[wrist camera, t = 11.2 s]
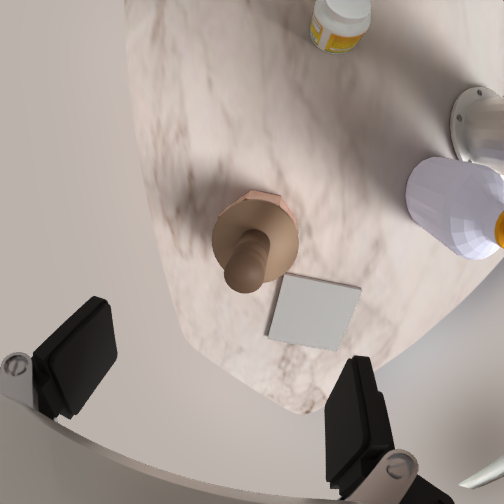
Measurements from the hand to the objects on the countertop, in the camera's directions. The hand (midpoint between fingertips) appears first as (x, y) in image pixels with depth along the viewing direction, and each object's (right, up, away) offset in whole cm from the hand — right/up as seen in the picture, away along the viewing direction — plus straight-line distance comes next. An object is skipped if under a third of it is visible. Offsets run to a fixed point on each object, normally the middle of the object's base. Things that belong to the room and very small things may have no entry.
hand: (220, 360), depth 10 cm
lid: (+2, +5, +19) cm, 20 cm away
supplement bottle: (+10, +28, +15) cm, 33 cm away
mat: (+9, -4, +27) cm, 29 cm away
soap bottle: (+23, +11, +19) cm, 32 cm away
